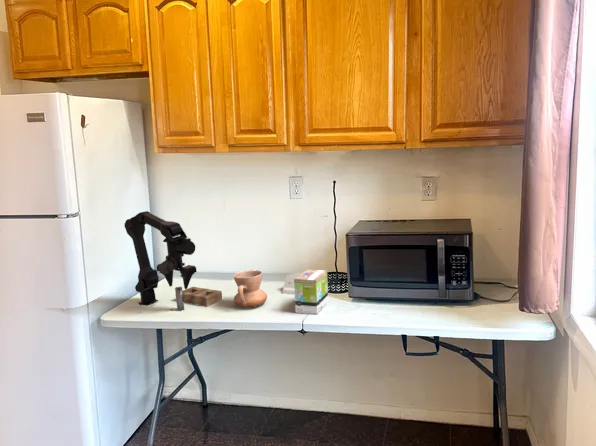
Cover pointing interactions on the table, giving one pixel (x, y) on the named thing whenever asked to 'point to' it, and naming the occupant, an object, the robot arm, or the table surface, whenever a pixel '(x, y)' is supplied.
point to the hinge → (290, 284)
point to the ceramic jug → (249, 289)
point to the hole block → (201, 296)
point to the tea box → (311, 291)
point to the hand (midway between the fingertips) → (178, 287)
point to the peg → (179, 298)
